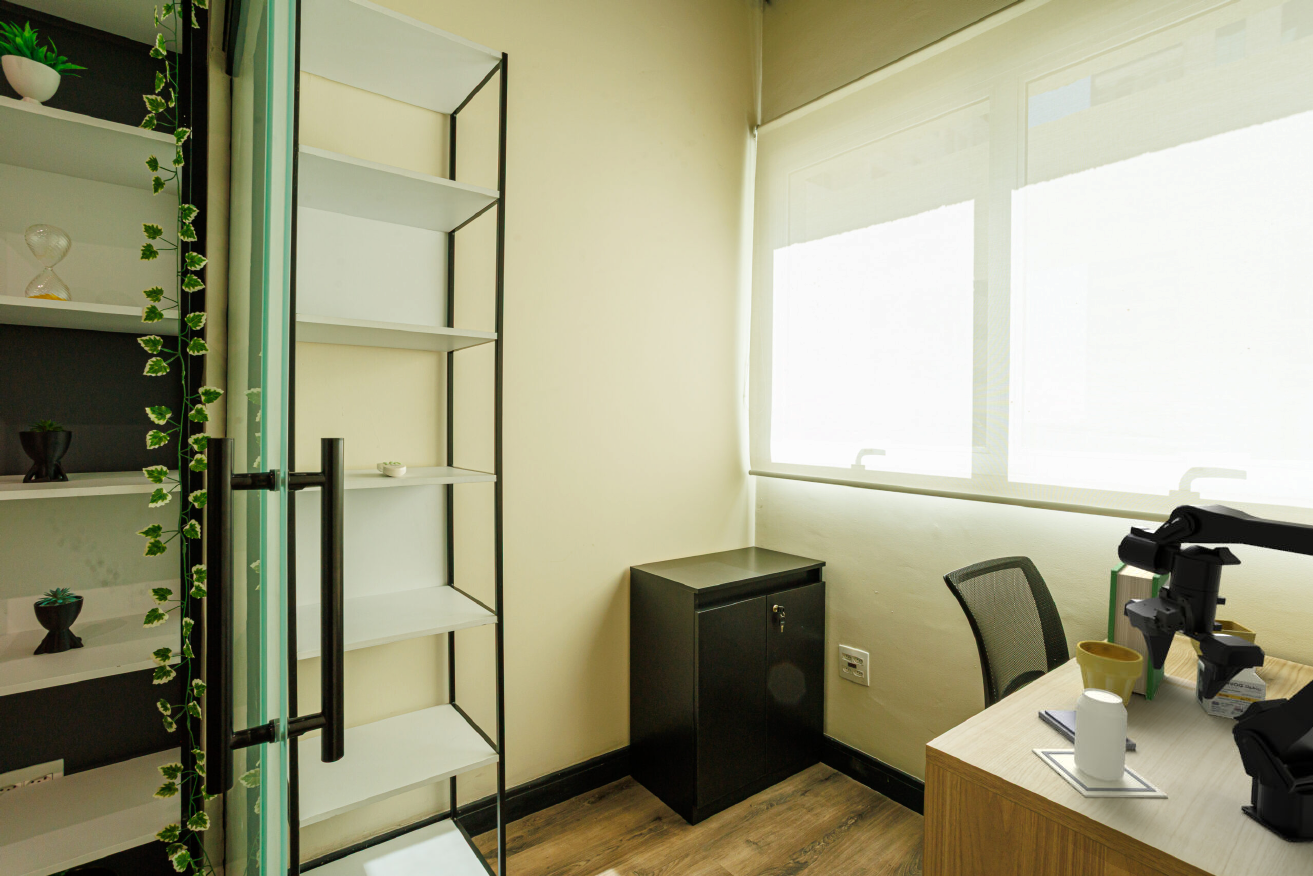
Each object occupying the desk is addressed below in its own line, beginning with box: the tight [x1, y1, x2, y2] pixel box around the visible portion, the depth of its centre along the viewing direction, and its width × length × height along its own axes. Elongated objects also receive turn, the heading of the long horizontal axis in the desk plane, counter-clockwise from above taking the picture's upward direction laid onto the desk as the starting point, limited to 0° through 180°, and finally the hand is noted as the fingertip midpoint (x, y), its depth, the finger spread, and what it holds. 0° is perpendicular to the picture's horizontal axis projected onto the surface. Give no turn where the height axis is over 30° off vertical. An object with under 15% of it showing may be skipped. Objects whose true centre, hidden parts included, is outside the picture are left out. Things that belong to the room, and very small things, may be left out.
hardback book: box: [1106, 560, 1171, 702], centre depth 127 cm, size 18×7×24 cm, turn 135°
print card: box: [1031, 748, 1168, 798], centre depth 94 cm, size 12×12×1 cm
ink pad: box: [1037, 709, 1137, 751], centre depth 106 cm, size 11×9×1 cm
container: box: [1195, 659, 1267, 719], centre depth 115 cm, size 8×8×13 cm
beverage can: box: [1073, 688, 1128, 782], centre depth 93 cm, size 6×6×12 cm
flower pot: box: [1189, 618, 1257, 656], centre depth 137 cm, size 9×9×9 cm
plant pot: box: [1075, 640, 1143, 708], centre depth 118 cm, size 10×10×10 cm
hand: (1181, 683), depth 95 cm, fingers open, 9 cm apart
